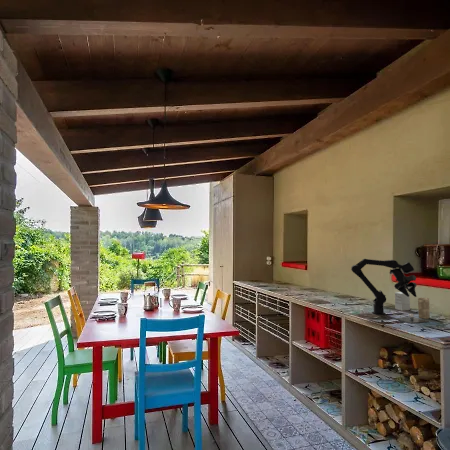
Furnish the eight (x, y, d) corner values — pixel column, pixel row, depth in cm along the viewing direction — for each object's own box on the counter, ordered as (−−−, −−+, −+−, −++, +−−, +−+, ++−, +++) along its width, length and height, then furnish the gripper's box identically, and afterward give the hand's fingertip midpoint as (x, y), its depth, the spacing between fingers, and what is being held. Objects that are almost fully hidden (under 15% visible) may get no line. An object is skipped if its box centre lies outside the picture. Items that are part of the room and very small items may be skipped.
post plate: (394, 318, 237) (394, 312, 237) (412, 317, 241) (411, 311, 241) (410, 323, 224) (410, 316, 224) (429, 322, 227) (429, 315, 228)
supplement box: (403, 308, 272) (403, 291, 273) (410, 310, 265) (410, 293, 265) (394, 309, 271) (394, 292, 271) (401, 310, 263) (401, 293, 264)
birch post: (418, 317, 240) (418, 298, 241) (421, 316, 243) (421, 297, 244) (426, 318, 236) (426, 299, 237) (429, 317, 240) (429, 298, 240)
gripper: (401, 269, 241) (415, 290, 232) (416, 271, 252) (429, 291, 243) (388, 278, 248) (401, 298, 239) (403, 279, 258) (415, 299, 250)
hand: (412, 296), depth 242 cm, fingers open, 9 cm apart
